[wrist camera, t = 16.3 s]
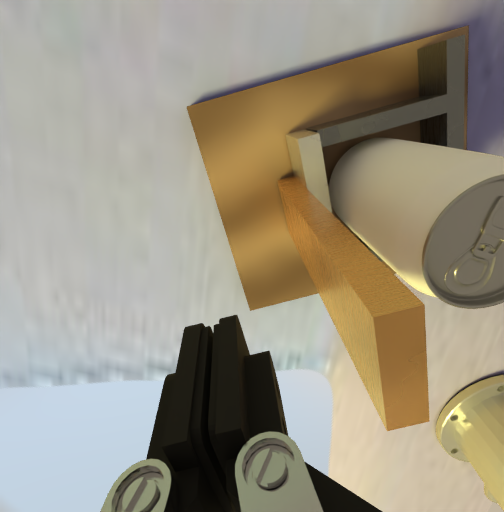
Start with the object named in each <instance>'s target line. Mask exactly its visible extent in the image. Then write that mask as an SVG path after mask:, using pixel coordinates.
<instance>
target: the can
mask: <svg viewBox="0 0 504 512" xmlns="http://www.w3.org/2000/svg"><path fill="white" fill-rule="evenodd" d="M329 196H330V202H331V205H332V208H333V210H334V211H335V213H336V214H337V216H338V217H339V218H340V219H341V220H342V221H343V222H344V223H345V224H346V225H347V226H348V227H349V228H350V229H351V230H352V231H353V232H354V233H355V234H356V235H357V236H358V237H359V238H360V239H361V240H362V241H363V242H364V243H366V244H367V245H368V246H369V247H370V248H371V249H372V250H373V251H374V252H375V253H376V254H377V255H378V256H379V257H380V258H381V259H382V260H383V261H384V262H385V263H386V264H387V265H389V266H390V267H391V268H392V269H393V270H394V271H395V272H396V273H397V274H398V275H399V276H400V277H401V278H402V279H404V280H405V281H406V282H407V283H408V284H409V285H411V286H412V287H414V288H415V289H417V290H418V291H420V292H422V293H424V294H427V295H430V296H433V297H438V298H439V299H440V300H442V301H443V302H445V303H447V304H450V305H452V306H455V307H460V308H467V309H477V308H485V307H490V306H494V305H497V304H500V303H503V302H504V157H501V156H496V155H491V154H486V153H480V152H474V151H468V150H462V149H456V148H450V147H444V146H438V145H432V144H426V143H419V142H413V141H406V140H400V139H393V138H372V139H368V140H365V141H362V142H360V143H358V144H356V145H355V146H353V147H352V148H350V149H349V150H348V151H347V152H346V153H345V154H344V155H343V156H342V157H341V158H340V159H339V161H338V162H337V164H336V166H335V167H334V170H333V172H332V174H331V178H330V182H329Z"/></svg>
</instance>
